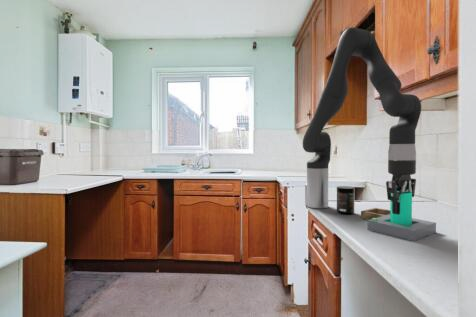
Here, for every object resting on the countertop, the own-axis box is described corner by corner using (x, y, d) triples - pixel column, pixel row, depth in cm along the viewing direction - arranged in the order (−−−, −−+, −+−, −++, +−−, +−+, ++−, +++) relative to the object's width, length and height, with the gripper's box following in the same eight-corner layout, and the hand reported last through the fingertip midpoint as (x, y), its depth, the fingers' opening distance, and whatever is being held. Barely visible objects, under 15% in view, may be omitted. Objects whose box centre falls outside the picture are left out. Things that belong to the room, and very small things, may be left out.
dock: (367, 229, 93) (367, 218, 92) (390, 222, 101) (390, 212, 100) (414, 241, 81) (414, 228, 81) (435, 232, 89) (436, 220, 89)
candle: (416, 226, 89) (417, 187, 88) (400, 228, 87) (401, 188, 86) (400, 221, 94) (400, 185, 94) (385, 223, 93) (385, 186, 92)
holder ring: (360, 217, 108) (360, 211, 108) (375, 214, 113) (375, 207, 113) (387, 223, 99) (387, 216, 99) (402, 219, 105) (402, 212, 105)
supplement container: (356, 212, 116) (356, 186, 116) (352, 216, 111) (352, 189, 110) (338, 210, 120) (338, 185, 120) (334, 214, 114) (334, 187, 114)
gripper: (401, 157, 97) (400, 207, 98) (377, 159, 89) (376, 213, 90) (425, 158, 91) (424, 211, 92) (402, 159, 83) (401, 218, 83)
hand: (401, 212), depth 91 cm, fingers closed on candle, 5 cm apart
